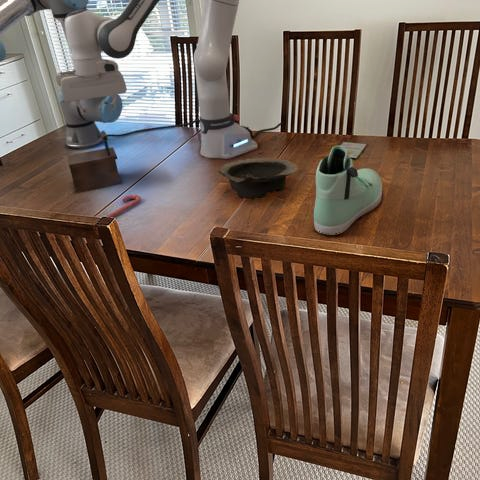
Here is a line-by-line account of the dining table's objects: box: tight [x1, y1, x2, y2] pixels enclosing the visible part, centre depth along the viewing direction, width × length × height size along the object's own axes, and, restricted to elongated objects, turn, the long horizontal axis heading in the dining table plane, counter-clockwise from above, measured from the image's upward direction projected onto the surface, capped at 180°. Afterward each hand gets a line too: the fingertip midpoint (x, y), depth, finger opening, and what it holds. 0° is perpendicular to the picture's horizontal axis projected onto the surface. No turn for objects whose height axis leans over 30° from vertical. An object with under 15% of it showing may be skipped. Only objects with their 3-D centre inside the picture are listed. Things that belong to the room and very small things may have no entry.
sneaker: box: [313, 145, 383, 236], centre depth 133 cm, size 14×35×20 cm, turn 152°
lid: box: [66, 130, 118, 169], centre depth 161 cm, size 16×10×8 cm, turn 111°
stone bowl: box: [217, 157, 299, 201], centre depth 152 cm, size 25×25×9 cm
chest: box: [69, 159, 121, 194], centre depth 165 cm, size 15×10×9 cm, turn 111°
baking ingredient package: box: [340, 141, 367, 159], centre depth 177 cm, size 9×1×15 cm
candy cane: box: [106, 194, 142, 218], centre depth 149 cm, size 6×15×2 cm, turn 145°
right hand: (98, 111), depth 156 cm, fingers open, 8 cm apart
